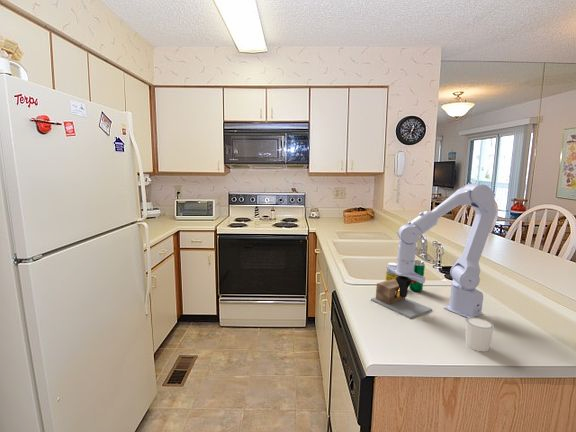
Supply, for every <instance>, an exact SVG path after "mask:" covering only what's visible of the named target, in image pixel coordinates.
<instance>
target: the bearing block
mask: <svg viewBox="0 0 576 432" xmlns="http://www.w3.org/2000/svg"><path fill="white" fill-rule="evenodd" d="M375 289H376V291H375V297H376V299H377V300H379V301H381V302H384V303H386V304H388V305H390V304H393V303H396V302H399V301H403V300H405V298H406V297H404V298H403V299H402V300H399V299H397V298H396V296H395V290H396V289H399V285H398V282H397V281H396V280H394V279H392V280H388V281H381V282H378V283H376V288H375Z"/></svg>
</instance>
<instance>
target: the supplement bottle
mask: <svg viewBox="0 0 576 432" xmlns="http://www.w3.org/2000/svg"><path fill="white" fill-rule="evenodd" d="M387 266H392V267H397V263H396V262H388V263H387ZM386 271H387V268H386V269H385V281H388V280H392V279H394V280H396V277H398V275H396V274H394V273H391V272H386Z"/></svg>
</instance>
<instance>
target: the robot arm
mask: <svg viewBox="0 0 576 432" xmlns="http://www.w3.org/2000/svg"><path fill="white" fill-rule="evenodd" d="M495 196H496V193H495V192H494V191H493V189H492V188H491V187H490V186H488V185H486V184H476V183H472V182H471V183H466V184H465V185H463V187H460V188H458V189H456V190H455V192H453V193H452V194H451V195H449V197H447V198H446V199H445V200H443V201H442V202H441V203H439V205H437V206H436V207H434V208H433V209H432V210H431V211H430V210H428V211H427V210H425V211H420V212H419V213H418V216H417V217H415V218H414V219H412V220H409V221H407V222H406V223H407V224H404V225H401V226H400V227H399V229H398V231H397V237H398V238H399V240H398V248H397V259H396V260H397V267H392V266H388V265H387V266H386V269H387V271H386V270H385V273H386V272H391V273H394V274H396V275H398V277H396V281H397V282H398V285H399V288H400V297H402V298H404V297H405V298H407V296H408V291H409V285H410V284H411V282H412V281H413V280H414V281H417V282H419V283H421V284H422V283H423V284H425V283H426V276H424V277H423V276H421V275H419V274H417V273H415V272H414V264H415V260H416V250H417V248H416V245H417V242H418V241H419V239H420V237H421V236H422V235H424V234H425V233H426V232H428V231H429V230H431V229H432V228H433V227H435V226H436V225H438V219H440V218H441V217H443V216H444V215H446V214H448V213H449V212H451V211H453V210H454V209H455V208H457V207H459V206H467V205H469V206H471V208H472V209H473V210H474V212H475V216H474V220H473V222H472V225H471V227H470V231H469V233H468V236H467V240H466V243H465V246H464V249H463V251H462V253H461V256H460V257H458V258H457V259H456V262H455V263H454V265H453V266H451V268H450V269H449V270H450V271H449V274H450V277H451V278H452V281H451V285H450V294H449V297H450V298H449V304H448V305H444V306H443V309H444V310H447V311H450V312H452V313H454V314H457V315H459V316H462V317H464V318H470V317H475V318H477V317H478V316H480V315H482V314H483V310H482V309H483V301H484V294H483V292H482V291H480V290H478V289H476V288H477V287H478V286H479V285H480V282H481V279H480V273H481V267H480V263H479V262H480V260H481V257H482V253H483V251H484V248H485V246H486V242H487V240H488V237H489V235H490V231H491V229H492V226H493V223H494V221H495V218H496V215H497V206H496V201H495Z"/></svg>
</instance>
